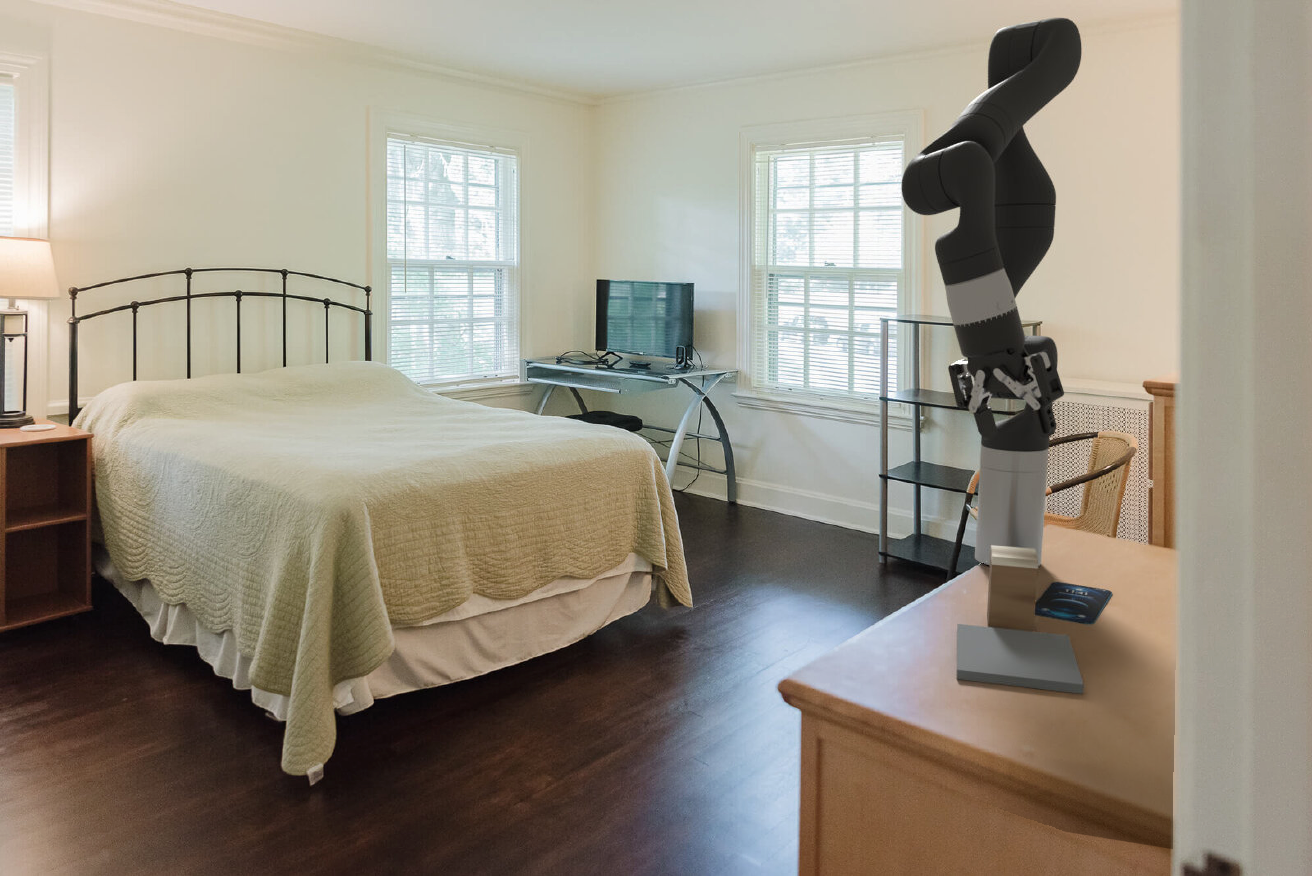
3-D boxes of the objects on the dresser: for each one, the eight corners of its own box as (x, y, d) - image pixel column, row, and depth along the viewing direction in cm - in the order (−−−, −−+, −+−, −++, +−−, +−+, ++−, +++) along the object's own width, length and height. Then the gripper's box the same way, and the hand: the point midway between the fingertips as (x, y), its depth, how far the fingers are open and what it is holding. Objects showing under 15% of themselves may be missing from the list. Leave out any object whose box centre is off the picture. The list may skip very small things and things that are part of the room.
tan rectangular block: (986, 615, 115) (991, 545, 114) (1030, 620, 114) (1035, 548, 112) (988, 629, 111) (992, 556, 109) (1033, 634, 109) (1038, 560, 108)
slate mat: (957, 631, 110) (957, 623, 110) (1067, 643, 106) (1068, 635, 106) (956, 678, 97) (957, 669, 97) (1082, 694, 93) (1083, 684, 93)
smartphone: (1026, 612, 116) (1052, 580, 128) (1025, 617, 116) (1052, 584, 128) (1093, 624, 112) (1114, 590, 124) (1093, 629, 112) (1113, 594, 124)
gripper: (1053, 294, 109) (1087, 424, 111) (958, 310, 121) (991, 427, 124) (1012, 314, 105) (1049, 447, 108) (919, 328, 118) (954, 448, 120)
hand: (1018, 436), depth 116 cm, fingers open, 8 cm apart
